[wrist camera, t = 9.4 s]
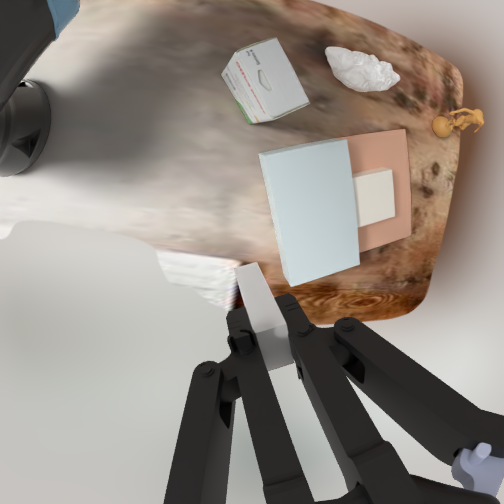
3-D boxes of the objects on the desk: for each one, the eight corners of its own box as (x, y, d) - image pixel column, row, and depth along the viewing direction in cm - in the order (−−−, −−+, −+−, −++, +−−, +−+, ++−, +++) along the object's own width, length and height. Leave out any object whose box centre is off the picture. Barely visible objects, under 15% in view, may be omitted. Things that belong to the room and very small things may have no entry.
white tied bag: (309, 63, 37) (325, 97, 31) (328, 24, 31) (351, 49, 25) (372, 88, 40) (398, 127, 34) (393, 55, 34) (425, 88, 28)
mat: (334, 138, 40) (336, 138, 40) (403, 129, 42) (405, 129, 41) (348, 254, 49) (350, 256, 48) (409, 234, 50) (411, 235, 49)
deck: (258, 153, 39) (264, 155, 36) (334, 138, 40) (346, 139, 37) (283, 274, 48) (291, 287, 44) (348, 254, 49) (359, 264, 45)
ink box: (220, 74, 34) (230, 51, 23) (253, 59, 34) (275, 34, 23) (248, 125, 38) (269, 123, 27) (280, 110, 37) (312, 103, 27)
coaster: (342, 176, 42) (350, 178, 40) (383, 167, 43) (391, 169, 41) (348, 223, 46) (355, 228, 44) (386, 212, 46) (395, 216, 44)
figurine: (418, 128, 42) (468, 134, 31) (423, 98, 40) (472, 99, 29) (446, 142, 44) (492, 152, 33) (450, 115, 42) (496, 120, 31)
